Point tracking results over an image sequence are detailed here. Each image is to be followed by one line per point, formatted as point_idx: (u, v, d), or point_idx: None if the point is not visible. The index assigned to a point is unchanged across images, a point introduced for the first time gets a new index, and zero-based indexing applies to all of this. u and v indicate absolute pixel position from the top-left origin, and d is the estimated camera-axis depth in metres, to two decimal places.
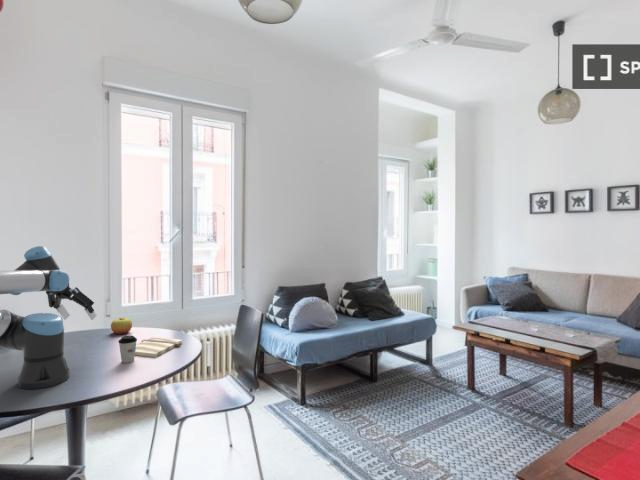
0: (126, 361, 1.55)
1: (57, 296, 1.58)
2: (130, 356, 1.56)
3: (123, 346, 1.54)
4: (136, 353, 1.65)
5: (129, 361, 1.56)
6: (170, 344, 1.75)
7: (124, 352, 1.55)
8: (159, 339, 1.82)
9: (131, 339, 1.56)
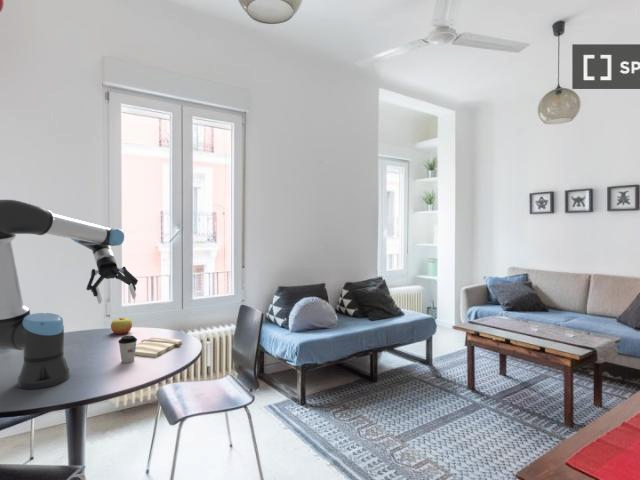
0: (126, 361, 1.55)
1: (106, 270, 1.68)
2: (130, 356, 1.56)
3: (123, 346, 1.54)
4: (136, 353, 1.65)
5: (129, 361, 1.56)
6: (170, 344, 1.75)
7: (124, 352, 1.55)
8: (159, 339, 1.82)
9: (131, 339, 1.56)
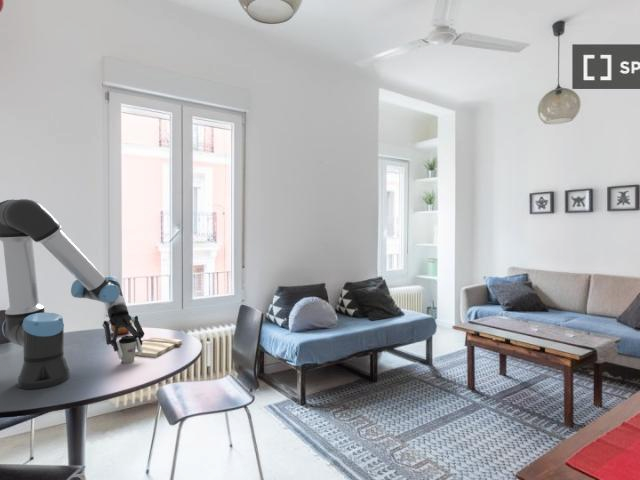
0: (126, 361, 1.55)
1: (118, 320, 1.60)
2: (130, 356, 1.56)
3: (123, 346, 1.54)
4: (136, 353, 1.65)
5: (129, 361, 1.56)
6: (170, 344, 1.75)
7: (124, 352, 1.55)
8: (159, 339, 1.82)
9: (131, 339, 1.56)
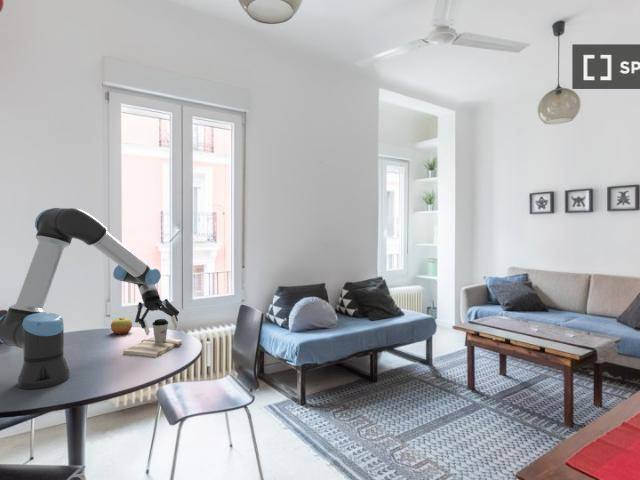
0: (159, 341, 1.77)
1: (151, 303, 1.82)
2: (163, 337, 1.77)
3: (156, 328, 1.76)
4: (136, 353, 1.65)
5: (162, 341, 1.77)
6: (170, 344, 1.75)
7: (157, 333, 1.76)
8: None
9: (163, 322, 1.77)
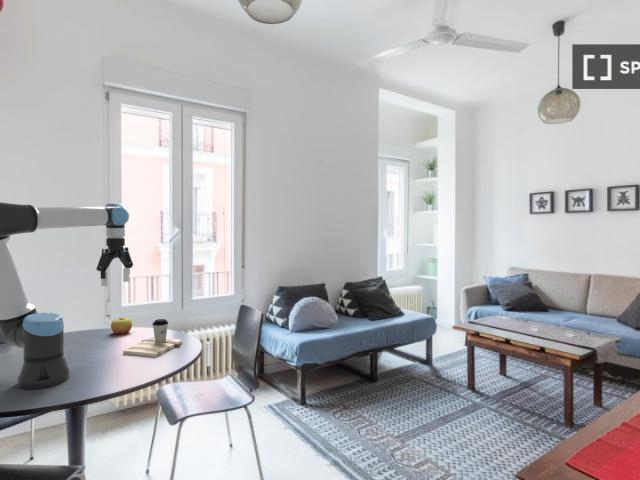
0: (159, 341, 1.77)
1: (116, 253, 1.74)
2: (163, 337, 1.77)
3: (156, 327, 1.76)
4: (136, 353, 1.65)
5: (162, 341, 1.77)
6: (170, 344, 1.75)
7: (157, 333, 1.76)
8: None
9: (163, 322, 1.77)
